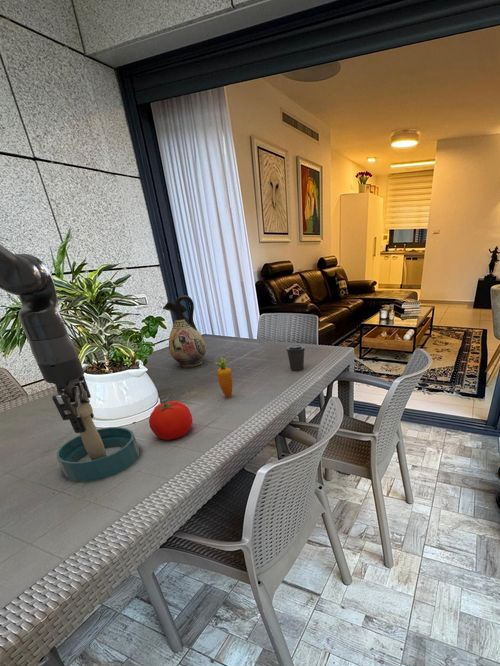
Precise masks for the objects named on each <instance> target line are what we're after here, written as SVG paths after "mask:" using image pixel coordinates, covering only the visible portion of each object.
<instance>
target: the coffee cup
mask: <svg viewBox="0 0 500 666" xmlns="http://www.w3.org/2000/svg"><path fill="white" fill-rule="evenodd" d="M305 350H306V346H304V345H302V344H301V345H300V344H292V345H289V346H287V347H286V348H285V351H287V357H288V362H289V367H290V371H292V372H301V371H303V370H304V362H305Z"/></svg>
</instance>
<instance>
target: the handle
mask: <svg viewBox="0 0 500 666" xmlns="http://www.w3.org/2000/svg"><path fill="white" fill-rule="evenodd" d="M74 410H75V408H74ZM79 410H80V416H81V417H82V420H83V422H84V425H85V427H86V431H85V432H81V433H79V435H80V436H81V439H82V441H83V444H84V447H85V449H86V451H87V453H88V455H87V456H89V458H90V460H95V459H98V458H102V457H105V456H108V455H107V454H106V448H104V445H103V442H102V440H101V437H100V435H99V433H98V431H97V429H98V428H97V427H96V425H95V423H94V420H93V418H91V416H90V415H91V414H92V413H93V414H94V411H93V407H92V405H91V404H90V403H81V407H79Z"/></svg>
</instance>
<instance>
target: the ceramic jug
mask: <svg viewBox="0 0 500 666" xmlns="http://www.w3.org/2000/svg"><path fill="white" fill-rule="evenodd" d="M182 301H184V302H188V303H189V314H188V318H187V317H186V315H185V314H184V313H185V312H187V310H188V309H187V307H185V306H184V305H183V304H182V303H181V302H182ZM162 309H163V310H165V311H169V312H172V313H174V314H175V321H174V323H173V325H172V328H171V331H170V333H169V336H168V350H169V354H170V355H171V357H172V358H173V360H175V361H176V362H177V363H178V364H180V367H182V368H194V367H198V366H200V365H202V364H203V359H204V357H205V355H206V353H207V347H206V346H207V345H206V342H205V340H204V337H203V336H202V335H201V333H200V332H199V330H198V328H197V327H196V324H195V322H194V311H195V303H194V301H193V299H192V298H191V297H190V296H189V295H186V294H181V295H179V296H177V297H176V300H175V301H173V299H168V301H167V302H166V303H165V305H163V307H162Z"/></svg>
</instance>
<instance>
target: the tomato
mask: <svg viewBox="0 0 500 666" xmlns="http://www.w3.org/2000/svg"><path fill="white" fill-rule="evenodd" d="M148 424H149V428H150V429H151V431H152V433H153V434H154V435H155V436H156V437H157V438H159V439H160V440H161V439H162V440H165V441H168V440H171V441H172V440H175V439H179V438H182V437H184V436H186V435H187V433H188V432H189V431H190V429H191V427H192V425H193V415H192V413H191V410H190V409H189V408H188V406H187V405H186V404H184V403H183V402H181V401H176V400H172V401H168V402H167V401H166V399H163V403H160V404H157V405H156V406H155V407H154V408H153V410H152V412H151V413H150V415H149V418H148Z"/></svg>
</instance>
